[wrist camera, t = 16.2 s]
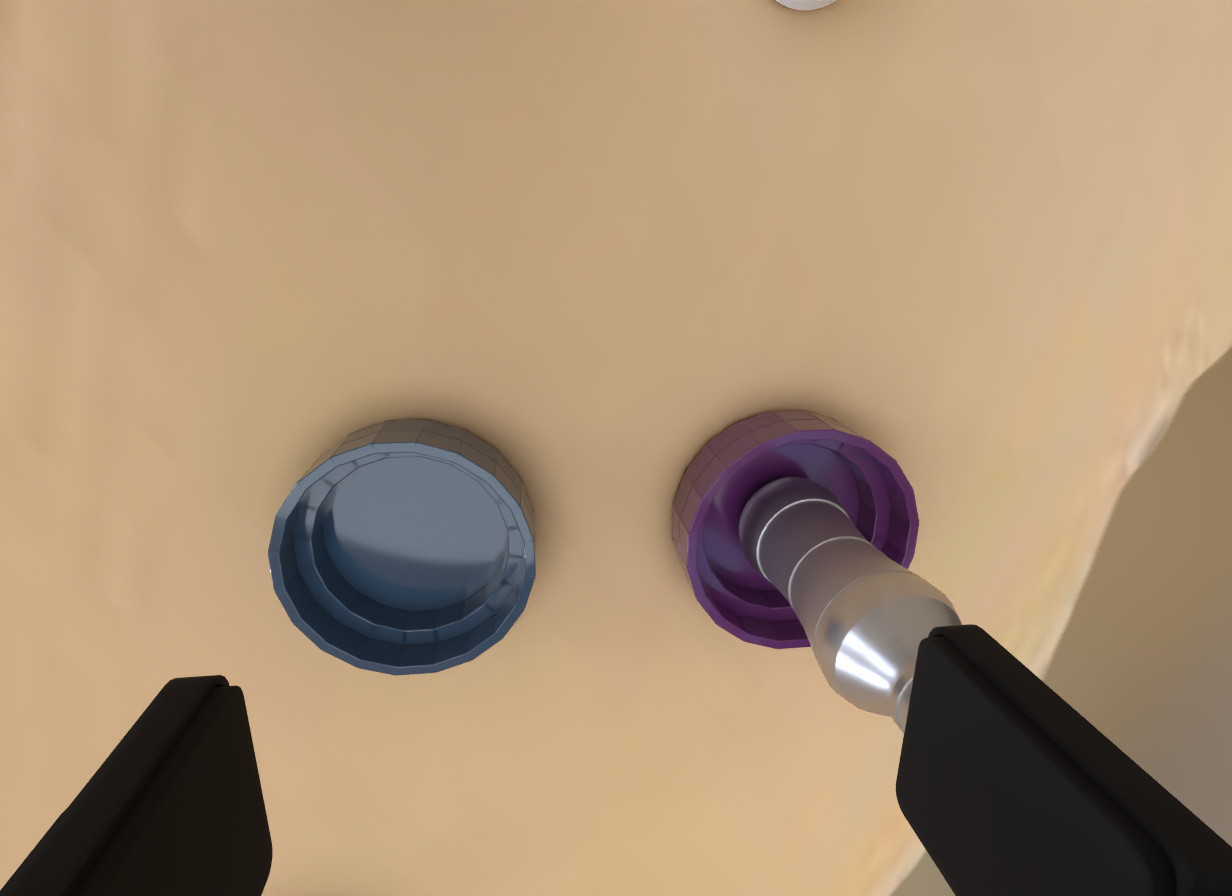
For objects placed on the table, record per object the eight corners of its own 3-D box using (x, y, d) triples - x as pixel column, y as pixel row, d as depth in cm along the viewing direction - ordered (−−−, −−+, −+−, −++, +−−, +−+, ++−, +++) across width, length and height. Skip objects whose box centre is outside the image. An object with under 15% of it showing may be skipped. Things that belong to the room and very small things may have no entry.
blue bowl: (283, 420, 39) (249, 446, 35) (530, 414, 41) (531, 438, 36) (314, 634, 44) (288, 683, 39) (537, 620, 45) (538, 666, 41)
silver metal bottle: (846, 507, 45) (1077, 708, 26) (773, 578, 46) (945, 821, 27) (783, 446, 43) (983, 615, 24) (708, 521, 44) (844, 740, 25)
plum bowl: (674, 410, 42) (692, 433, 37) (890, 405, 44) (934, 426, 39) (667, 612, 46) (682, 656, 42) (864, 600, 48) (901, 641, 43)
